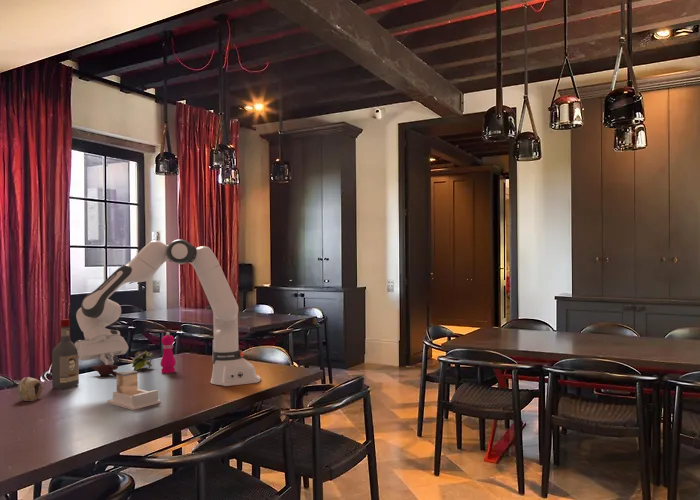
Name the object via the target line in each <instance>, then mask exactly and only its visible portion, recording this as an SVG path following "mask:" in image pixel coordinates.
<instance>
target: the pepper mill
mask: <svg viewBox="0 0 700 500" xmlns="http://www.w3.org/2000/svg"><path fill="white" fill-rule="evenodd" d="M170 334H171V333H170V332H169V331H167V332H166V333H165V335H163V336H162V338H161V343H162V349H163V354H162V358H161V360H160V367H161V373H162V374H172V373H175V372H176V371H175V370H176V368H175V365H176V358H175V356H174V353H173V348H174V342H175V338H174V336H173V335H172V334H171V335H170Z"/></svg>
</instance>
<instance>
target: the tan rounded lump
mask: <svg viewBox="0 0 700 500" xmlns="http://www.w3.org/2000/svg"><path fill="white" fill-rule="evenodd" d="M44 389H45V387H44V386H43V384H42V383H41V381H40V380H38V379H37V378H35V377H30V376H27V377H23V378H22V379H21V380H20V381H19V383H18V385H17V389H16V391H17V398H18V399H20V400H22V401H24V402H28V401H29V402H31V401H36V400H38V399H39V398H40V397H41V394H42V391H43V390H44Z"/></svg>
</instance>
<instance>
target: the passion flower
mask: <svg viewBox="0 0 700 500" xmlns="http://www.w3.org/2000/svg"><path fill="white" fill-rule="evenodd" d="M153 357H154V353H153V352H151V353H149V352H148V350H145V351H137V352H135V354H134V358H132V361H130V364H132V366H131V368H133V371H138V370H141V369H143V368H145V366H146V365H147V366H148V368H149V370H151V367H153V364H151V363H152V360H153ZM149 358H150V361H149V360H148V359H149Z"/></svg>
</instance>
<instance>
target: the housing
mask: <svg viewBox="0 0 700 500" xmlns="http://www.w3.org/2000/svg"><path fill="white" fill-rule="evenodd" d="M160 403H162V401H161V399H159V390H158V389H153V390H150V391H149V390H148V391H147V390H145V389H139V388H138V394H136V395H132V396H130V395H126V394H122V393H118V392H117V391H113V392H112V399H108V400H107V404H109V405H114V406H116V407H117V406H118V407H121V408H125V409H128V410H132V411H134V410H138V409H141V408H146V407H149V406H154V405H156V404H157V405H158V404H160Z"/></svg>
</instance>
